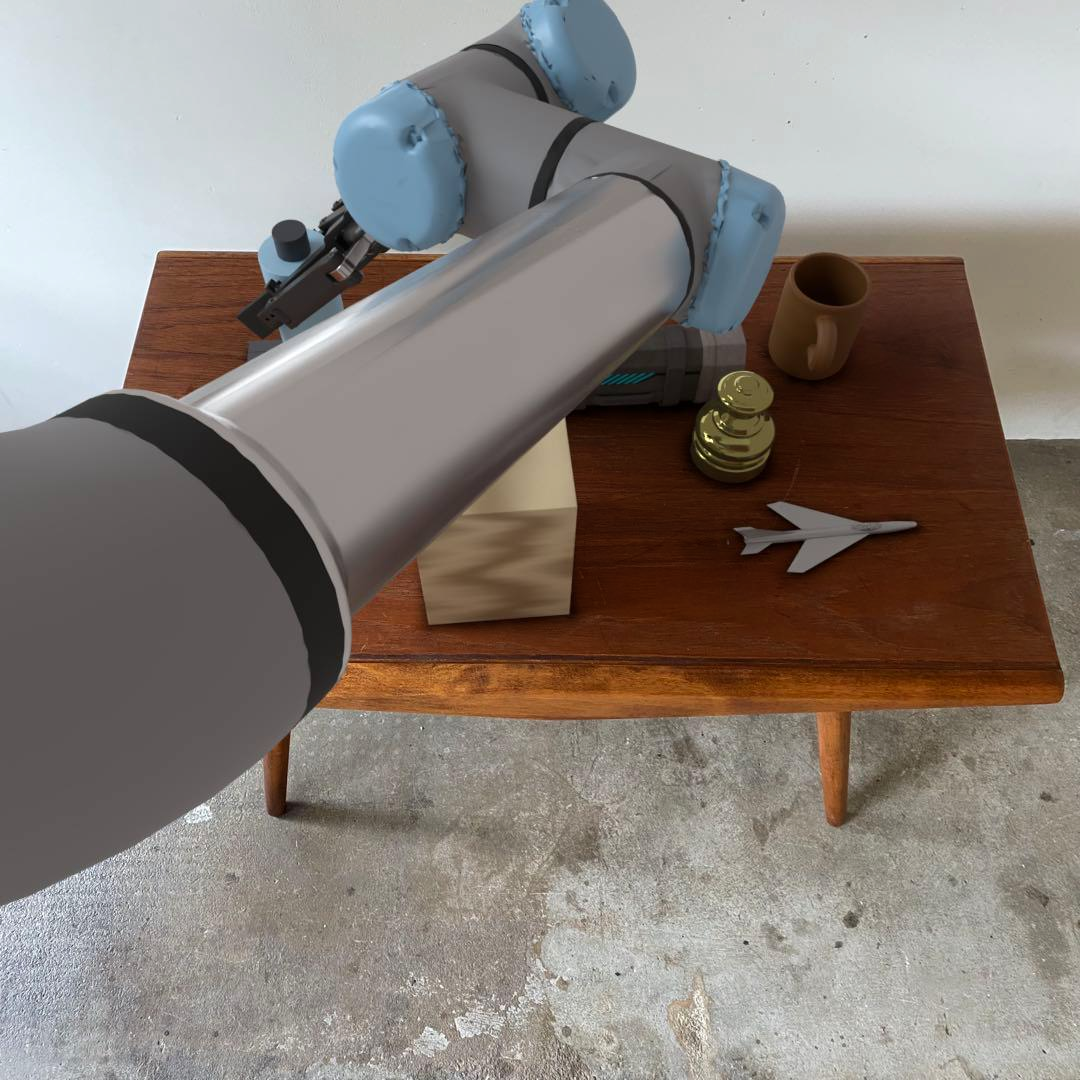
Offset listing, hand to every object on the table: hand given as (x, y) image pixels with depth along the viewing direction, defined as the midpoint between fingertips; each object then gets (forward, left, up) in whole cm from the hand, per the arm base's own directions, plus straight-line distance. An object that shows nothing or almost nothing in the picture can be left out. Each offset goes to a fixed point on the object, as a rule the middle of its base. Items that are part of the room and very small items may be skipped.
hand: (268, 299), depth 80 cm
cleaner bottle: (+3, -1, -3) cm, 5 cm away
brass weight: (+40, -7, -16) cm, 44 cm away
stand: (+17, -17, -16) cm, 29 cm away
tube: (+27, +1, -16) cm, 32 cm away
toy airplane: (+45, -17, -16) cm, 51 cm away
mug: (+50, +3, -16) cm, 53 cm away
